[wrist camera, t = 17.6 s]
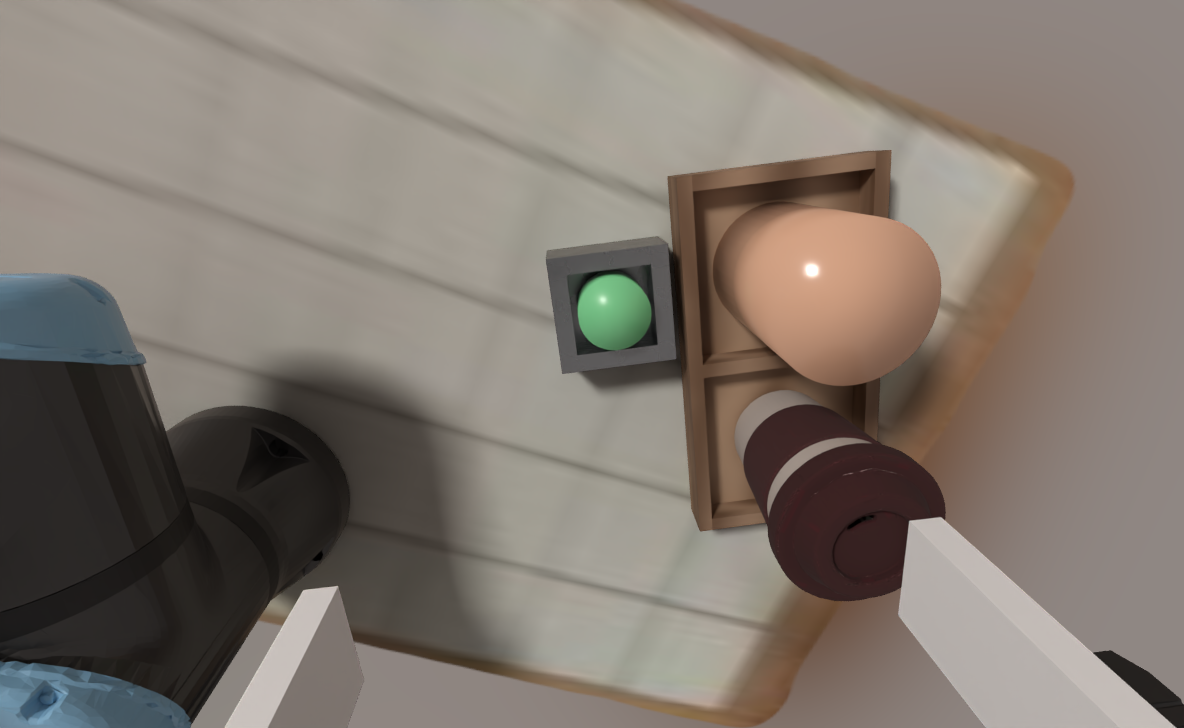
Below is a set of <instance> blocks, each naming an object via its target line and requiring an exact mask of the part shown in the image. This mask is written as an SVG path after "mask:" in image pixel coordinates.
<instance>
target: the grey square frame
mask: <svg viewBox="0 0 1184 728" xmlns="http://www.w3.org/2000/svg"><path fill="white" fill-rule="evenodd" d="M546 264H547V271H548V278H549V285H550V292H551V299H552V305H553V312H554V319H555V326H556V333H557V340H558V347H559V354H560V361H561V368H562V374H566V373H573V372H581V371H589V370H596V369H604V368H612V367H619V366H627V365H635V364H642V363H650V362H658V361H666V360H673V359H676V347H675V334H674V320H673V307H672V294H671V280H670V267H669V253H668V243H666V242H665V241H664V240H662V239H661V238H659V237H658V236H657V237H649V238H641V239H633V240H626V241H618V242H610V243H602V244H594V245H587V246H579V247H571V248H563V249H555V250H547V254H546ZM605 271H619V272H623V273H625V274H627V275H629V276H631V277H632V278H633V279H635V280H636V281H637V283H638V284H639V285H640V287H641V288H642V290H643V291H644V293H645V294H646V296H647V298H648V300H649V302H650V305H651V322H650V325H649V328H648V330H647V332H646V333H645V335H644V336H643V337H642V338H641V339H640V340H639V341H638V342H637V343H636V344H634V345H632V346H630V347H628V348H625V349H621V350H606V349H603V348H600V347H598V346H596V345H594V344H593V343H591V342H590V341H589V340H588V339H587V338H586V337H585V335H584V334H583V332H582V330H581V328H580V325H579V320H578V311H577V299H578V295H579V292H580V290H581V288H582V287H583V285H584V284H585V283H586V282H587V281H588V280H589V279H590V278H591V277H593V276H594V275H596V274H598V273H601V272H605Z"/></svg>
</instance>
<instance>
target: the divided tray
mask: <svg viewBox="0 0 1184 728" xmlns="http://www.w3.org/2000/svg"><path fill="white" fill-rule="evenodd" d="M890 170H891V150H882V151H864V152H856V153H848V154H840V155H832V156H824V157H816V158H808V159H801V160H793V161H785V162H777V163H769V164H761V165H753V166H745V167H737V168H729V169H722V170H714V171H706V172H698V173H690V174H682V175H674V176H668V190H669V204H670V217H671V231H672V245H673V259H674V273H675V287H676V301H677V315H678V329H679V343H680V356H681V370H682V384H683V398H684V412H685V426H686V440H687V454H688V468H689V482H690V496H691V509H692V512H693V514H694V517H695V519H696V522H697V525H698V527H699V530H700V531H707V530H715V529H722V528H729V527H737V526H744V525H752V524H759V523H766V522H765V519H764V517H763V515H762V513H761V511H760V508H759V506H758V504H757V502H756V499H755V497H754V495H753V493H752V491H751V488H750V486H749V484H748V482H747V479H746V476H745V473H744V466H743V464H742V462H741V459H740V457H739V455H738V453H737V450H736V447H735V440H734V435H735V428H736V424H737V422H738V419H739V417H740V415H741V414H742V412H743V411H744V410H745V409H746V408H747V407H748V406H749V404H750V403H752V402H753V401H754V400H756V399H757V398H759V397H761V396H762V395H764V394H767V393H770V392H774V391H779V390H792V391H797V392H800V393H803V394H805V395H808V396H809V397H811V398H812V399H814V400H815V401H816V402H818V403H819V404H821V405H822V406H823V407H826V408H829V409H831V410H833V411H835V412H836V413H838V414H840V415H841V416H842V417H844V418H845V419H847V420H848V421H850V422H851V423H852V424H854V425H855V426H857V427H858V428H859V429H861V430H862V431H864V432H865V433H866V434H868V435H869V436H871V437H872V438H873V439H875V440H876V441H877V432H878V412H879V392H880V378H877V379H875V380H872V381H869V382H866V383H862V384H857V385H849V386H834V385H827V384H822V383H819V382H816V381H813V380H811V379H809V378H807V377H805V376H803V375H802V374H800V373H799V372H797V371H796V370H795V369H793V368H792V367H791V366H790V365H789V364H788V363H787V362H785V361H784V360H783V359H782V358H781V357H780V356H779V355H777V354H776V353H775V352H774V351H773V350H772V349H771V348H769V347H768V346H767V345H766V344H765V343H764V342H763V341H761V340H760V339H759V338H758V337H757V336H756V335H755V334H753V333H752V332H751V331H750V330H749V329H748V328H747V327H745V326H744V325H743V324H742V323H741V322H740V321H739V320H737V319H736V318H735V317H734V316H733V315H732V314H731V313H730V312H729V311H728V310H727V309H726V308H725V307H724V306H723V304H722V303H721V301H720V299H719V298H718V295H717V293H716V290H715V287H714V283H713V260H714V256H715V252H716V249H717V246H718V244H719V242H720V240H721V238H722V236H723V235H724V233H725V232H726V230H727V229H728V228H729V226H730V225H731V224H732V223H733V222H734V221H735V220H736V219H737V218H739V217H740V216H741V215H742V214H744V213H745V212H747V211H749V210H750V209H752V208H755V207H757V206H759V205H762V204H765V203H770V202H779V201H785V202H794V203H800V204H806V205H812V206H818V207H824V208H830V209H836V210H842V211H848V212H854V213H860V214H866V215H872V216H878V217H883V218H888V210H889V190H890Z"/></svg>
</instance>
